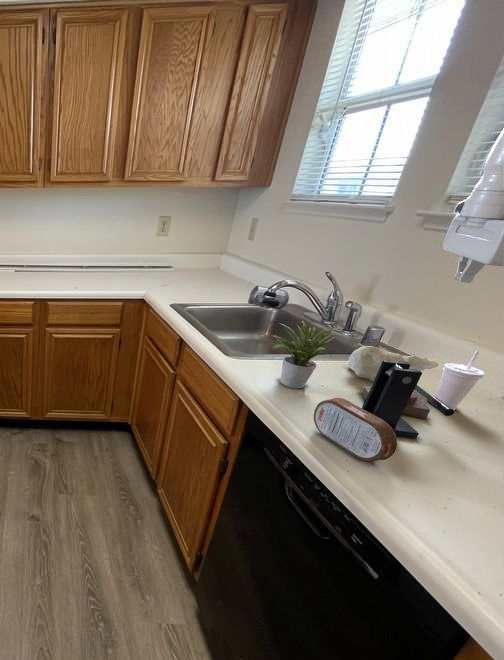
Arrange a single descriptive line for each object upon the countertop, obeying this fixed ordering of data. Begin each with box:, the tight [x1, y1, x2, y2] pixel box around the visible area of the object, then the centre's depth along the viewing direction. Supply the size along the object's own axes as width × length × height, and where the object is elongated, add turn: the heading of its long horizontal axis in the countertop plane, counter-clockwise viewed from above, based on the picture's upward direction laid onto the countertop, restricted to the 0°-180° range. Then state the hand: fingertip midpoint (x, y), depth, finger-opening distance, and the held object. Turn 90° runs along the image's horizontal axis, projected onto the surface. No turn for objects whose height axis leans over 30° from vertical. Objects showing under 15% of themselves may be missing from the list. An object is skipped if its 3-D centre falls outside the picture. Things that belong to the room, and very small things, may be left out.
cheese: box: [347, 345, 440, 383], centre depth 108 cm, size 15×7×15 cm
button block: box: [360, 385, 431, 419], centre depth 96 cm, size 10×8×4 cm
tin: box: [313, 397, 398, 462], centre depth 80 cm, size 15×3×8 cm, turn 10°
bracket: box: [361, 360, 423, 439], centre depth 86 cm, size 11×8×14 cm
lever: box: [385, 364, 455, 417], centre depth 84 cm, size 13×6×2 cm
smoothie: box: [435, 350, 485, 411], centre depth 94 cm, size 6×6×14 cm
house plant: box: [270, 320, 340, 389], centre depth 104 cm, size 14×14×16 cm
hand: (461, 281), depth 84 cm, fingers closed
